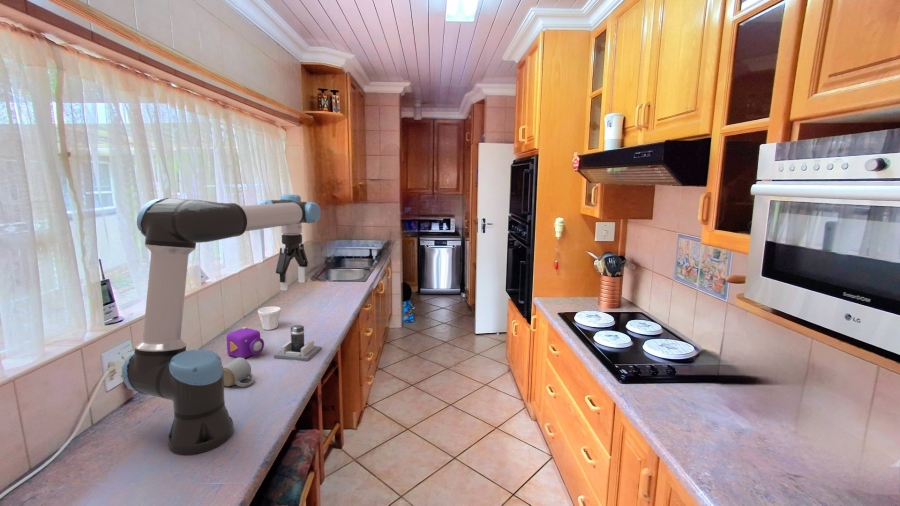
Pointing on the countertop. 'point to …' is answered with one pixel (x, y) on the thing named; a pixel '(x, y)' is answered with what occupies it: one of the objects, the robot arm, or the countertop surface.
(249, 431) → the countertop surface
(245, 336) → the toy camera
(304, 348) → the mount
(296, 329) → the lens
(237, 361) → the ceramic mug
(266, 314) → the cup
